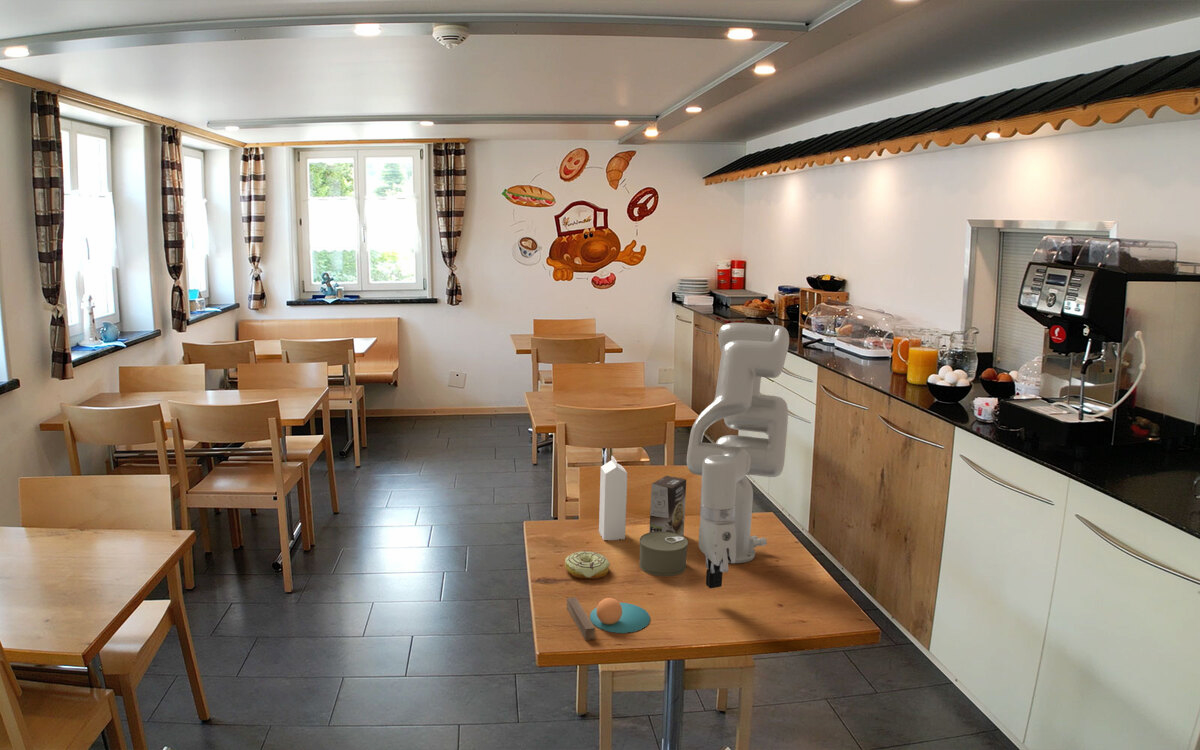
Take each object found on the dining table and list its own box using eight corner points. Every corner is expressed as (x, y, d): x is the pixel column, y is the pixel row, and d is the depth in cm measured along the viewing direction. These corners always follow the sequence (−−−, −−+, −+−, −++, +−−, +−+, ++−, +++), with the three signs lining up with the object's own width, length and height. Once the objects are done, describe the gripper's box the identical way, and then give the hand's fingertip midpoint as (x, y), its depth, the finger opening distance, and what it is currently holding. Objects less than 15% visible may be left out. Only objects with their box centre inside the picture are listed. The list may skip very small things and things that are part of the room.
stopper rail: (575, 607, 179) (575, 597, 179) (594, 639, 166) (595, 627, 166) (566, 608, 178) (566, 598, 178) (585, 640, 165) (585, 629, 165)
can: (630, 560, 204) (631, 534, 203) (672, 553, 209) (673, 528, 208) (652, 580, 194) (653, 553, 192) (695, 572, 198) (697, 546, 197)
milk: (619, 531, 223) (622, 454, 218) (625, 539, 217) (628, 461, 213) (598, 532, 221) (600, 455, 217) (603, 541, 215) (605, 461, 211)
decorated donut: (592, 586, 190) (592, 571, 189) (556, 573, 196) (556, 559, 195) (616, 570, 199) (617, 556, 198) (581, 559, 205) (582, 545, 204)
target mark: (637, 600, 183) (637, 599, 183) (659, 628, 171) (659, 627, 171) (582, 607, 179) (582, 606, 179) (600, 636, 167) (600, 635, 167)
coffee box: (669, 546, 213) (672, 488, 210) (648, 540, 217) (650, 483, 213) (684, 535, 221) (687, 478, 218) (663, 529, 224) (666, 474, 221)
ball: (587, 605, 173) (600, 622, 175) (598, 616, 168) (610, 634, 170) (607, 588, 174) (619, 606, 176) (618, 599, 169) (630, 617, 171)
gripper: (749, 522, 172) (744, 599, 177) (717, 496, 186) (714, 568, 190) (717, 527, 170) (713, 605, 174) (687, 499, 184) (685, 572, 188)
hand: (713, 585), depth 182 cm, fingers closed
